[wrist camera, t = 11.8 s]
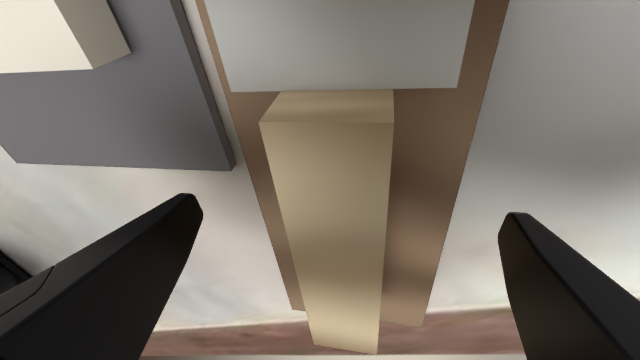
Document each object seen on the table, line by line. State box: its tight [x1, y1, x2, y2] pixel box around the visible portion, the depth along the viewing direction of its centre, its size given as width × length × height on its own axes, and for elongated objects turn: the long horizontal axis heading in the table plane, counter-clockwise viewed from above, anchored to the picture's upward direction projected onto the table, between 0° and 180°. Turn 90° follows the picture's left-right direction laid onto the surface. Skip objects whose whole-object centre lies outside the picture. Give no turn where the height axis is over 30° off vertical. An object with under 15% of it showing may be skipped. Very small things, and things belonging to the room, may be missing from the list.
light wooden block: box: [204, 0, 475, 355], centre depth 9 cm, size 19×6×3 cm, turn 6°
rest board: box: [195, 0, 509, 327], centre depth 11 cm, size 22×8×1 cm, turn 6°
